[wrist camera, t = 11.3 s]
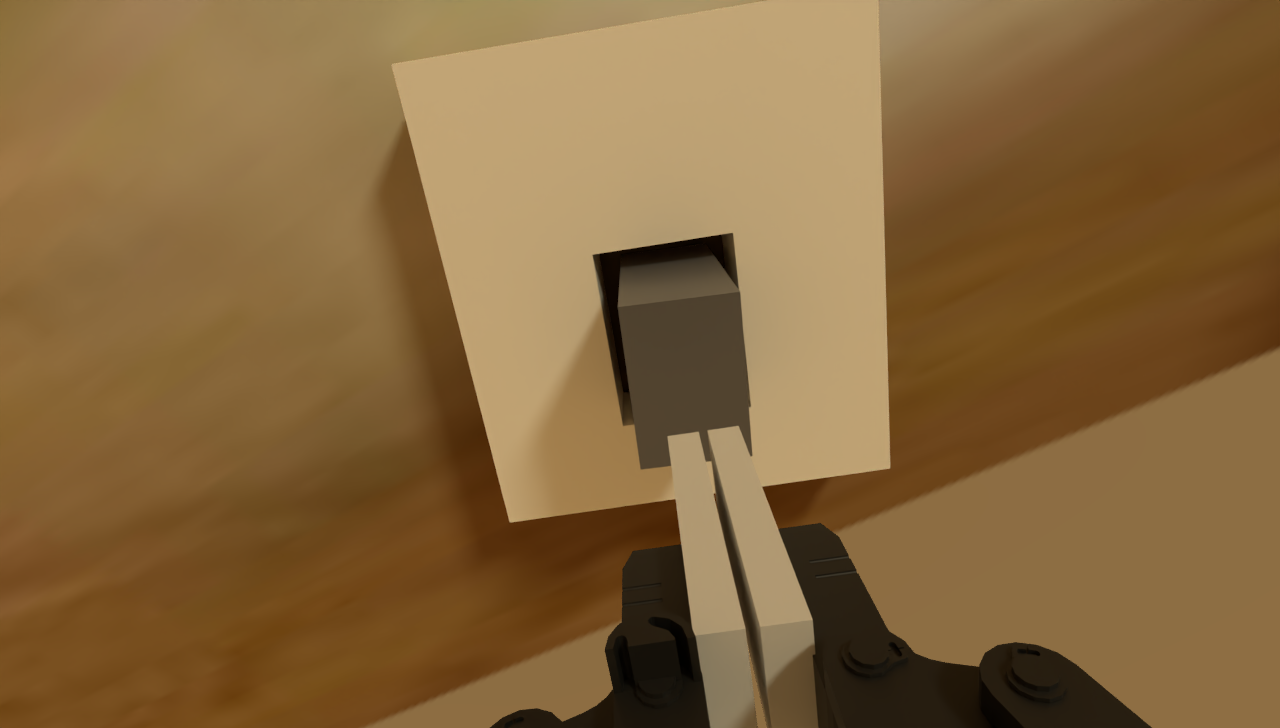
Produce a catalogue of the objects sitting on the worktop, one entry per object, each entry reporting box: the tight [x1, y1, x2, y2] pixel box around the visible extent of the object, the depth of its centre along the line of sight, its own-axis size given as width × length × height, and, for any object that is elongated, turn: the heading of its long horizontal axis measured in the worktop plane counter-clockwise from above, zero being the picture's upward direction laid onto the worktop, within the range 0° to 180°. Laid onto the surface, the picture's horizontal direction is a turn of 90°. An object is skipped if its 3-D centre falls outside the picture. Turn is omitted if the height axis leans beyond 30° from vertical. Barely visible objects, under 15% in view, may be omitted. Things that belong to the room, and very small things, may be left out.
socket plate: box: [391, 0, 890, 523], centre depth 29 cm, size 18×20×4 cm
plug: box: [618, 244, 752, 470], centre depth 26 cm, size 4×6×10 cm, turn 7°
